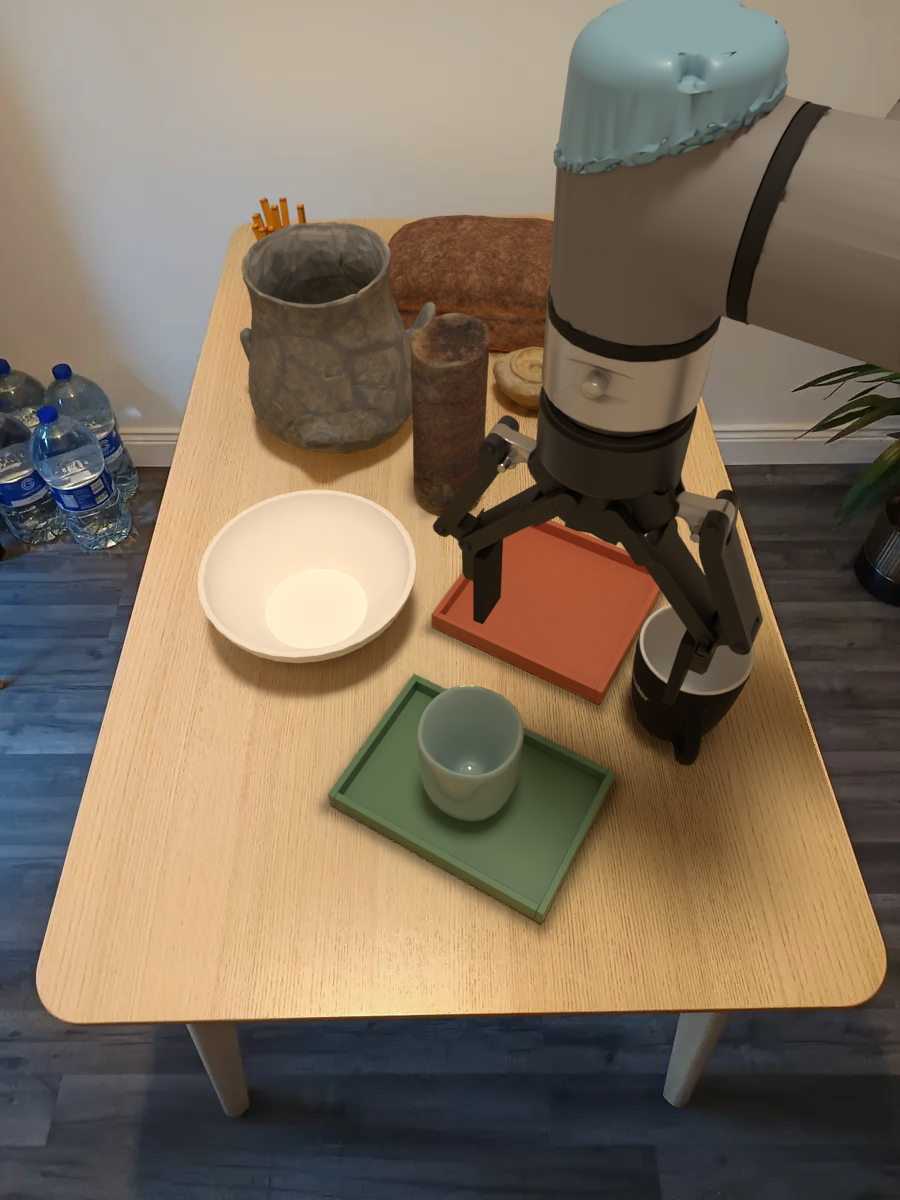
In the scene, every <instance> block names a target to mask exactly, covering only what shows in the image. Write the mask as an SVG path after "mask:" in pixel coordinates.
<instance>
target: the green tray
mask: <svg viewBox="0 0 900 1200" xmlns="http://www.w3.org/2000/svg"><path fill="white" fill-rule="evenodd" d="M445 690H448V689H447V688H444V687H442V686H441V685H438V684H436V683H434V682H432V681H430V680H428V679H426V678H424V677H422V676H420V675H418V674H416V673H413V674H412V676H411V677H410V679H409V680H408V681H407V683H406V684H405V685H404V687H403V688H402V690H401V691H400V692H399V694H398V695H397V696H396V698H395V699H394V701H393V702H392V704H391V705H390V706H389V708H388V709H387V711H386V712H385V713H384V715H383V716H382V718H381V719H380V721H379V722H378V723H377V725H376V726H375V727H374V729H373V730H372V732H371V733H370V734H369V736H368V737H367V738H366V740H365V741H364V743H363V744H362V745H361V747H360V748H359V750H358V751H357V753H356V754H355V755H354V757H353V758H352V760H350V762H349V764H348V765H347V766H346V768H345V769H344V770H343V772H342V773H341V775H340V777H339V778H338V779H337V781H336V782H335V783H334V785H333V786H332V788H331V789H330V790H329V791H328V793H327V796H328V800H329V803H330V806H332V807H334V808H336V809H337V810H339V811H341V812H342V813H345V814H346V815H348V816H350V817H352V818H353V819H355V820H357V821H358V822H360V823H362V824H364V825H365V826H368V827H369V828H370V829H373V830H374V831H377V832H378V833H380V834H381V835H383V836H385V837H387V838H389V839H390V840H392V841H394V842H396V843H398V844H399V845H401V846H403V847H404V848H406V849H408V850H410V851H412V852H414V853H415V854H417V855H419V856H421V857H422V858H424V859H426V860H428V861H430V862H431V863H433V864H435V865H436V866H438V867H440V868H442V869H444V870H445V871H447V872H449V873H451V874H452V875H454V876H456V877H458V878H459V879H461V880H464V881H465V882H466V883H468V884H470V885H472V886H474V887H475V888H477V889H478V890H481V891H482V892H485V893H486V894H488V895H489V896H491V897H493V898H495V899H497V900H498V901H500V902H502V903H504V904H506V906H508V907H511V908H513V909H514V910H516V911H518V912H519V913H521V914H523V915H524V916H527V917H528V918H530V919H532V920H534V921H535V922H538V923H539V924H543V922H544V920H545V918H546V916H547V914H548V913H549V910H550V908H551V907H552V904H553V903H554V901H555V899H556V896H557V894H558V893H559V890H560V888H561V887H562V885H563V882H564V881H565V879H566V877H567V874H568V873H569V870H570V869H571V867H572V865H573V862H574V861H575V858H576V857H577V854H578V853H579V851H580V849H581V847H582V845H583V843H584V841H585V840H586V839H585V838H586V837H587V835H588V833H589V831H590V829H591V827H592V825H593V823H594V821H595V819H596V817H597V815H598V813H599V811H600V809H601V807H602V805H603V803H604V801H605V799H606V797H607V795H608V793H609V791H610V789H611V787H612V785H613V783H614V780H615V776H616V771H614V770H612V769H609V768H608V767H606V766H604V765H602V764H600V763H598V762H596V761H594V760H592V759H590V758H588V757H585V756H584V755H582V754H579V753H577V752H576V751H574V750H571V749H569V748H567V747H565V746H563V745H561V744H559V743H557V742H555V741H552V740H551V739H549V738H547V737H544V736H543V735H540V734H539V733H537V732H535V731H532V730H530V729H529V728H527V727H524V726H523V731H524V741H523V750H522V758H521V764H520V770H519V775H518V779H517V782H516V785H515V787H514V790H513V792H512V794H511V796H510V798H509V799H508V801H507V803H506V804H505V805H504V806H503V808H502V809H501V810H500V811H499V812H497V813H496V814H495V815H494V816H492V817H490V818H488V819H486V820H483V821H478V822H466V821H461V820H458V819H455V818H452V817H450V816H448V815H446V814H445V813H443V812H442V811H441V810H439V809H438V808H437V807H436V806H435V805H434V804H433V803H432V801H431V800H430V799H429V797H428V795H427V793H426V791H425V789H424V787H423V783H422V779H421V775H420V770H419V764H418V754H417V729H418V725H419V721H420V718H421V716H422V714H423V712H424V710H425V709H426V707H427V706H428V704H429V703H430V702H431V701H432V700H433V699H434V698H435V697H436V696H437V695H439V694H440V693H442V692H443V691H445Z"/></svg>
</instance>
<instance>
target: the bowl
mask: <svg viewBox="0 0 900 1200" xmlns="http://www.w3.org/2000/svg"><path fill="white" fill-rule="evenodd" d="M416 556H417V555H416V549H415V547H414V544H413V540H412V538H411V535H410V534H409V532H408V531H407V529H406V528H405V526H404V525H403V523H402V522H401V520H399V519H398V518H397V517H396V516H395V515H394V514H393V513H392V512H391V511H389V510H388V509H387V508H385V507H384V506H382V505H380V504H379V503H377V502H375V501H373V500H371V499H369V498H366V497H363V496H361V495H359V494H355V493H350V492H345V491H341V490H335V489H321V488H319V489H318V488H317V489H305V490H303V489H302V490H296V491H292V492H287V493H282V494H277V495H275V496H272V497H269V498H266V499H264V500H261V501H259V502H257V503H255V504H253V505H251V506H250V507H247V508H246V509H244V510H242V511H241V512H239V513H238V514H237V515H236V516H234V517H233V518H231V519H230V520H229V521H227V522H226V523H225V525H223V526H222V527H221V529H219V531H218V532H216V534H215V535H214V536H213V538H212V539H211V541H210V542H209V544H208V545H207V547H206V548H205V551H204V553H203V556H202V557H201V561H200V564H199V566H198V573H197V579H196V580H197V581H196V582H197V583H196V587H197V593H198V599H199V602H200V605H201V606H202V609H203V611H204V613H205V616H206V617H207V619H208V620H209V621H210V622H211V624H212V625H213V626H214V627H215V628H216V630H217V631H218V632H219V633H220V634H221V635H222V636H223V637H225V638H226V639H227V640H229V641H230V642H231V643H233V644H234V645H235V646H236V647H239V648H240V649H242V650H244V651H246V652H248V653H250V654H253V655H254V656H256V657H260V658H263V659H267V660H270V661H274V662H279V663H293V664H305V663H315V662H323V661H326V660H331V659H335V658H339V657H342V656H345V655H347V654H349V653H352V652H355V651H356V650H359V649H361V648H363V647H364V646H366V645H367V644H369V643H371V642H372V641H373V640H375V639H376V638H378V637H379V636H381V634H382V633H384V631H385V630H387V629H388V628H389V627H390V626H391V625H392V624H393V623H394V621H395V620H396V619H397V617H398V616H399V614H400V613H401V611H402V610H403V608H405V606H406V604H407V601H408V599H409V597H410V595H411V592H412V590H413V587H414V584H415V577H416V573H417V557H416Z"/></svg>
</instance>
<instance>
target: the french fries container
mask: <svg viewBox="0 0 900 1200" xmlns="http://www.w3.org/2000/svg"><path fill="white" fill-rule="evenodd" d="M258 201H259V203H260V207H261V210H262V213H263V217H264V219H265V222H266V225H265V223H264V220H263V218H262V215H261V213H260V212H256V213H253V215H252V216H251V219H252V222H253V223H252V225H251V229H252V232H253V235H254V237H255V239H256V242H257V241H259V240H260V239H261V238H263V237H265V236H267V235H269V234H271V233H273V232H275V231H277V230H279V229H281V228H283V227H286V226H289V225H291V223H290V214H289V208H288V207H289V206H288V199H287V197H279V199H278V202H279V204H271V206H270V202H269V199H268V198H267V197H263V198H260V199H259V200H258ZM296 213H297V219H298V224H299V223H307V217H306V211H305V205H304V204H297V205H296Z"/></svg>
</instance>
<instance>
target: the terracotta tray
mask: <svg viewBox="0 0 900 1200" xmlns="http://www.w3.org/2000/svg"><path fill="white" fill-rule="evenodd" d="M661 593H662V591H661V590H660V588H659V587H658V585H657V584H656V582H655V581H654V580H653V578H652V577H651V575H650V574H649V572H648V571H647V569H646V568H645V567H644V566H637V565H636V564H635V563H634V561H633V560H632V558H631V557H630V555H629V554H628V552H627V551H626V549H625V548H621V547H620V546H617V545H613V544H610V543H608V542H605V541H603V540H601V539H599V538H598V537H595V536H592V535H589V534H588V533H585V532H580V531H576V530H573V529H570V528H568V527H565V524H562V523H559V522H557V521H554V520H553V519H551V520H549V521H547V522H545V523H543V524H541V525H539V526H536V527H534V526H533V525H531V526H529V527H526V528H524V529H522V530H520V531H518V532H516V533H514V534H512V535H510V536H508V537H506V538H504V539H503V555H502V580H501V598H500V599H499V601H498V602H497V604H496V605H495V607H494V608H493V610H492V611H491V613H490V615H489V616H488V618H487V619H486V621H485V622H484V624H480V623H478V622H476V621H473V581H471V580H469V579H466V578H465V577H464V575H463V573H462V572H461V574H460V575H459V576H458V577H457V579H456V580H455V582H453V584H452V586H451V587H450V588H449V590H448V591H447V593H446V594H445V595H444V596H443V598H442V599H441V600H440V602H439V603H438V604H437V606H436V607H435V609H434V610H433V611H432V613H431V615H430V616H431V627H432V628H433V629H435V630H438V631H439V632H442V633H444V634H446V635H448V636H451V637H453V638H455V639H456V640H459V641H461V642H464V643H465V644H468V645H470V646H471V647H474V648H476V649H478V650H481V651H483V652H485V653H487V654H489V655H491V656H493V657H496V658H498V659H500V660H501V661H504V662H506V663H509V664H510V665H512V666H514V667H517V668H519V669H522V670H523V671H525V672H528V673H530V674H532V675H534V676H536V677H539V678H541V679H543V680H545V681H547V682H549V683H552V684H554V685H556V686H558V687H560V688H562V689H565V690H567V691H569V692H571V693H573V694H575V695H577V696H579V697H582V698H584V699H586V700H588V701H590V702H592V703H594V704H597V705H601V703H602V701H603V700H604V697H605V695H606V694H607V692H608V690H609V688H610V687H611V685H612V683H613V681H614V679H615V677H616V675H617V674H618V672H619V670H620V668H621V666H622V665H623V663H624V660H625V659H626V657H627V655H628V654H629V652H630V650H631V648H632V647H633V644H634V642H635V641H636V638H638V636H639V634H640V631H641V628H642V626H643V624H644V623H645V621H646V620H647V619H648V617H649V616H650V613H651V612H652V609H653V608H654V606H655V604H656V603H657V600H658V598H659V597H660V595H661Z"/></svg>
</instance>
